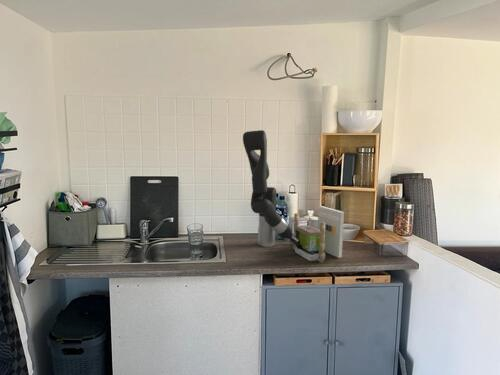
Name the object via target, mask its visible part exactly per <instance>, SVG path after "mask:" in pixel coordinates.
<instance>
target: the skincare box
mask: <svg viewBox="0 0 500 375" xmlns="http://www.w3.org/2000/svg"><path fill="white" fill-rule="evenodd" d="M308 225H312V226H315V227H317V228H318V216H312V217H311V216H310V217H308Z"/></svg>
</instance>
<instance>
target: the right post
mask: <svg viewBox="0 0 500 375" xmlns="http://www.w3.org/2000/svg"><path fill="white" fill-rule="evenodd" d="M324 243H325V223H324V222H320V240H319V260H318V263H324V262H325V259H324Z"/></svg>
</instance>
